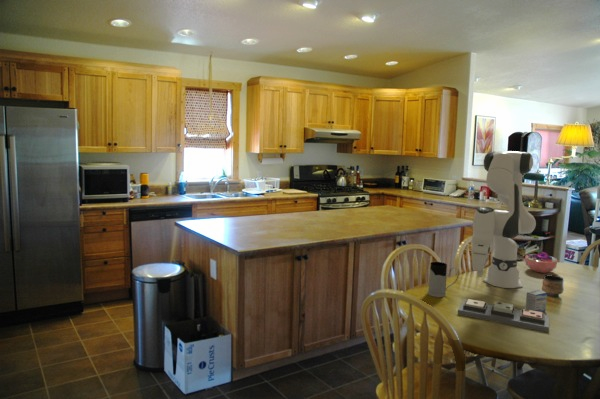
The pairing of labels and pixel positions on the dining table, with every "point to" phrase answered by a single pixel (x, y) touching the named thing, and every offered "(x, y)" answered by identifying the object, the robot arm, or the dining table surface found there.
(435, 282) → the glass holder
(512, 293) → the dining table surface
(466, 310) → the key panel
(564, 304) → the dining table surface
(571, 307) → the dining table surface
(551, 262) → the cell model
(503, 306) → the key two
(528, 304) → the medicine box
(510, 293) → the dining table surface
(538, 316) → the key three
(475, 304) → the key one
